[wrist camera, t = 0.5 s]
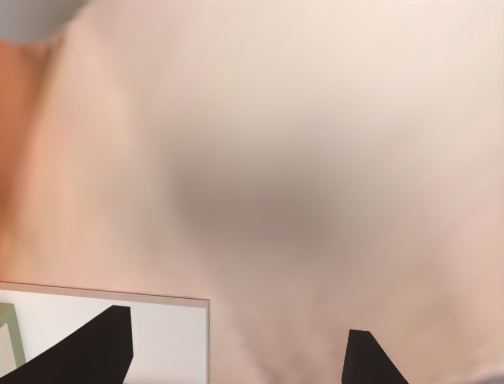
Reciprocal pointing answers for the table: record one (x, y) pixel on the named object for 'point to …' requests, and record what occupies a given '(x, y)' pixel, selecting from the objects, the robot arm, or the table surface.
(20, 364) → the tea box olive
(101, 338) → the robot arm
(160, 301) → the shelf board
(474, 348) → the table surface
